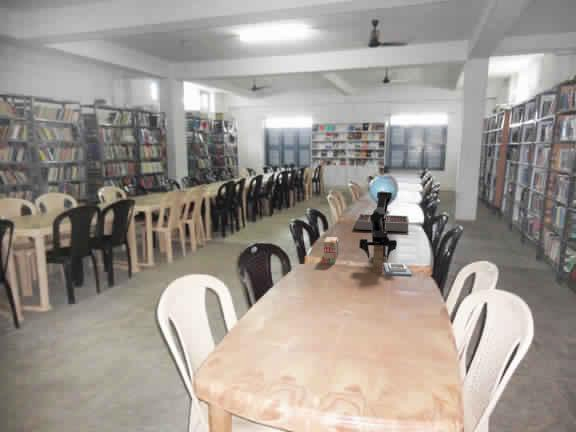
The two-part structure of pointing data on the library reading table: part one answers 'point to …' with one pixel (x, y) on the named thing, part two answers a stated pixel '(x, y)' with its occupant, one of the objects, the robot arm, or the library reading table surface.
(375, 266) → the walnut column
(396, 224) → the organizer tray
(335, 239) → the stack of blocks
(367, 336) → the library reading table surface
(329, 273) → the library reading table surface
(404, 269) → the blueprint board
